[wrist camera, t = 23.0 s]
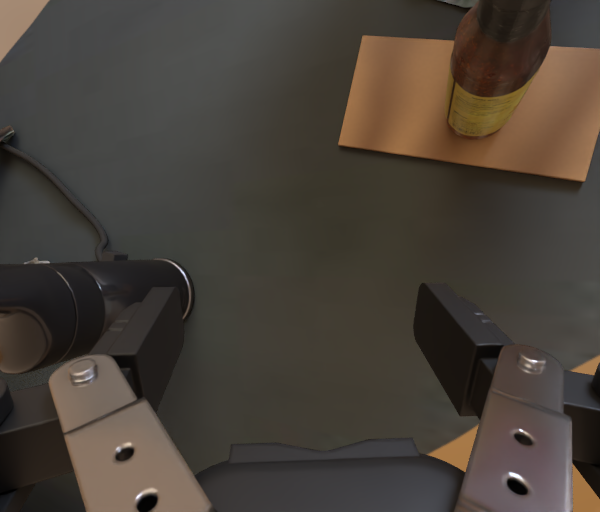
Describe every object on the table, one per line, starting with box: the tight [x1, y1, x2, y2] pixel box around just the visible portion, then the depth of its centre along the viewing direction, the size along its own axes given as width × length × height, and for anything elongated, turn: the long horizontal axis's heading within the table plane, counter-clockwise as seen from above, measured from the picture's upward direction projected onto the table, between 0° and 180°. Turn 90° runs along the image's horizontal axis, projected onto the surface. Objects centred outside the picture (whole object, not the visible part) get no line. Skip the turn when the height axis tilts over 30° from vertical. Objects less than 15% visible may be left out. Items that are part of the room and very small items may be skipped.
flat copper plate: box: [338, 36, 600, 182], centre depth 37 cm, size 24×12×1 cm, turn 77°
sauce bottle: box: [444, 0, 551, 140], centre depth 27 cm, size 7×6×20 cm
